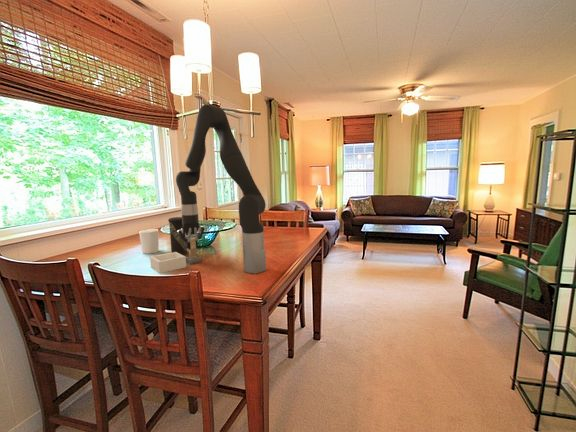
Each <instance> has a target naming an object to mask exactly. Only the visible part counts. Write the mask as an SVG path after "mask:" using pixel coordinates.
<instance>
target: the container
mask: <svg viewBox="0 0 576 432" xmlns="http://www.w3.org/2000/svg"><path fill="white" fill-rule="evenodd" d="M167 221H168V224H169V236H170V237H169V238H170V251H171V252H170V253H172V252H177V253H179V254H181V255H183V256H185V255H187V254H188V248H187V247H186V242H185V241H182V240H181V238H180V236H179V235H178V233H177V230H180V229H182V226H183V224H182V216H175V217H169V218H168V219H167ZM183 235H184V237H185V239H186V236H185V232H184V231H183Z"/></svg>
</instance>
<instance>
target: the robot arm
mask: <svg viewBox="0 0 576 432" xmlns="http://www.w3.org/2000/svg"><path fill="white" fill-rule="evenodd" d="M210 129H214V131H215V133H216V135H217V137H218V140H219V158H220V161H221V164H222V165H223V167H224V170H225V171H226V173H227V175H228V176H229V177H230V178H231V179H232V180H233V181H234V182H235V183H236V185H238V187H239V189H240V190H241V193H242V195H243V196H242V197H241V198H240V200H239V202H238V217H239V225H240V227H241V232H242V233H241V234H242V235H241V236H242V237H241V238H242V257H243V258H242V261H243V272H245V273H248V274H253V275H254V274H255V275H256V274H259V273H262V272H266V271H267V255H266V249H265V236H264V233H265V231H264V224H262V223H261V222H260V217H259V216H260V215H261V214H263V213H264V212H265V210H266V205H267V204H266V200H265V198H264V196H263V195H262V194H263V193H261V191H260V189H259V187H258V186H257V184H256V182H255V180H254V178H253V176H252V174H251V172H250V169H249V167H248V165H247V162H246V160H245V158H244V156H243V154H242V151H241V150H240V148H239V145H238V142H237V141H236V139H235V136H234V133H233V131H232V128H231V125H230V122H229V119H228V117H227V114H226V112H225V110H223V108H221V107H219V106H215V105H213V104H203V105H202V106H200V108H199V110H198V112H197V116H196V121H195V126H194V132H193V137H192V141H191V146H190V149H189V151H188V155H187V157H186V160H185V164H184V165H185V167H186V168H188V169H189V170H188V171H179V172H178V173H177V175H176V177H175V183H176V186H177V188H178V192H179V195H180V201H181V203H180V204H181V213H180V214H181V217H182V224H183V226H182V229H180V230H177V233H178V235H179V236H180V238H181V240H182V241H185V242H186V247H187V250H188V251H189V250H190V249H191V247H190V237H195V241H196V249H198V247H199V245H198V243H199V242H198V241H199V240H201V239H202V238H203V234H204V231H205V229H206V228H205V227H204V226H201V225H200V224H199V222H200V219H199V208H198V201H197V198H198V197H197V192H196V191H191V189H190V187H195V186H197V184H198V183H199V182H200V179H201V178H200V177H201V167H202V164H203V162H204V161H205V157H206V150H207V149H206V148H207V147H206V137H207V134H208V132H209V130H210ZM183 231H184V232H185V236H186V239H185V237H184V235H183Z"/></svg>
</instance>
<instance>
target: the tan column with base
mask: <svg viewBox="0 0 576 432" xmlns="http://www.w3.org/2000/svg"><path fill="white" fill-rule="evenodd" d="M190 247H191V249H190V250H189V249H188V256H185V257H186V264H188V265H193V264H196V263H197V264H198V263H202V261H203V259H202V257H201V256H199V255H197V248H196V241H195V237H193V236H191V237H190Z"/></svg>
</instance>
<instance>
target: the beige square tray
mask: <svg viewBox="0 0 576 432" xmlns="http://www.w3.org/2000/svg"><path fill="white" fill-rule="evenodd" d="M186 257H187V256H185V255H181V254H179V253H177V252H172V253H171V252H169V253H168V252H167V253H163V254H157V255H151V256H149V260H150V261H149V262H150V268H151V269H153V270H155V271H156V272H158V273H159V274H162V273H165V272H166V273H167V272H171V271H175V270H179V269H184V268H187V263H186Z"/></svg>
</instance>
